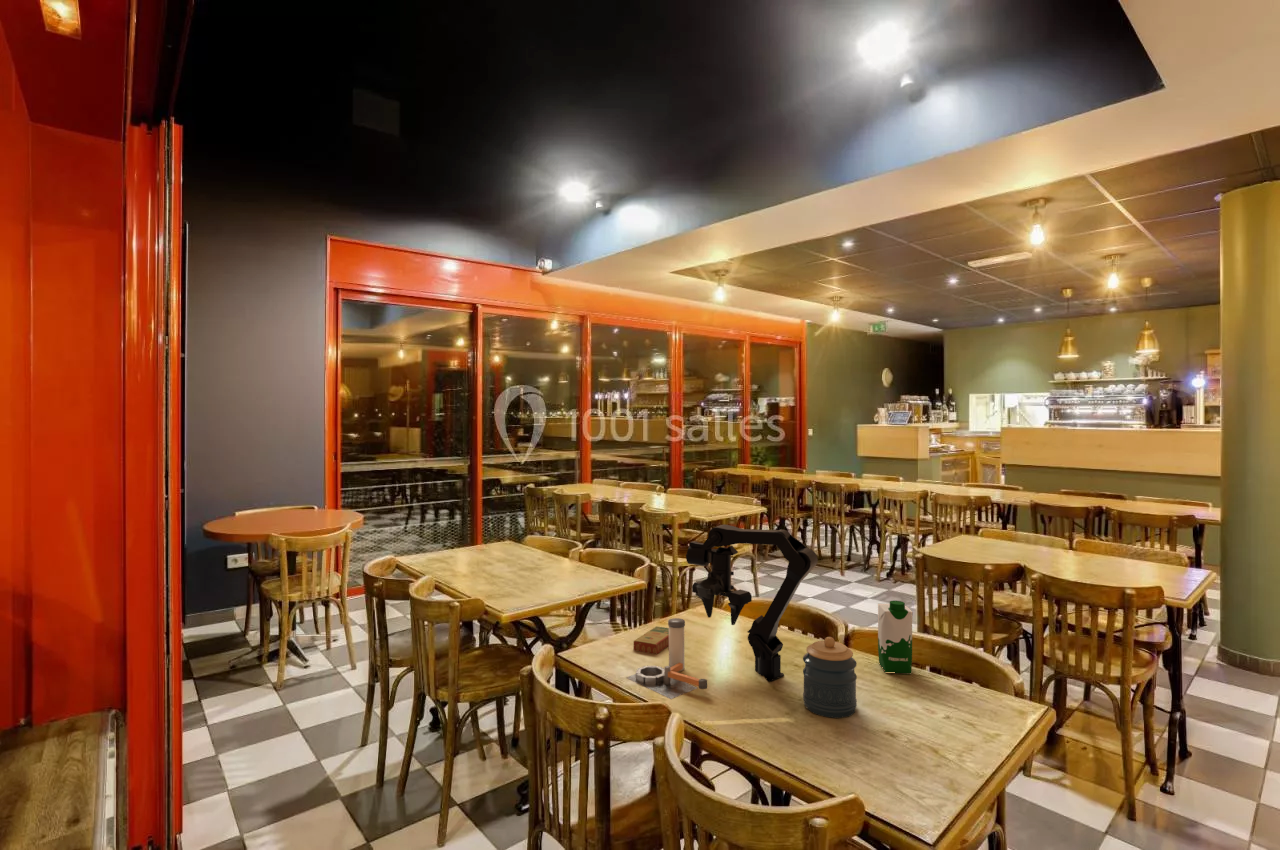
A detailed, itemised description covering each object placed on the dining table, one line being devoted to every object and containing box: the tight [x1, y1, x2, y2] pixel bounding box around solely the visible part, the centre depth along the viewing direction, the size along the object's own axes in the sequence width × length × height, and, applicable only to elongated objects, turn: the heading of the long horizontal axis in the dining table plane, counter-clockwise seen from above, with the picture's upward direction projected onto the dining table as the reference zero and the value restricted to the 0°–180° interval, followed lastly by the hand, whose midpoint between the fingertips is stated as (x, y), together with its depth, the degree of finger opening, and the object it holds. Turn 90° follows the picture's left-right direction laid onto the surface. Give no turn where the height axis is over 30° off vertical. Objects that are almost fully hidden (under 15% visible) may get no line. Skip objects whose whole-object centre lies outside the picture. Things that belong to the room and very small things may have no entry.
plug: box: [667, 617, 686, 673], centre depth 181 cm, size 5×5×14 cm
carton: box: [633, 626, 669, 655], centre depth 201 cm, size 8×16×4 cm, turn 152°
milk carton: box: [877, 600, 914, 674], centre depth 182 cm, size 9×9×20 cm
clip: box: [664, 663, 708, 690], centre depth 169 cm, size 13×8×4 cm, turn 52°
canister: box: [802, 636, 858, 719], centre depth 158 cm, size 13×13×18 cm
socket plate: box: [625, 665, 698, 700], centre depth 171 cm, size 18×10×3 cm, turn 41°
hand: (721, 621), depth 185 cm, fingers open, 9 cm apart
